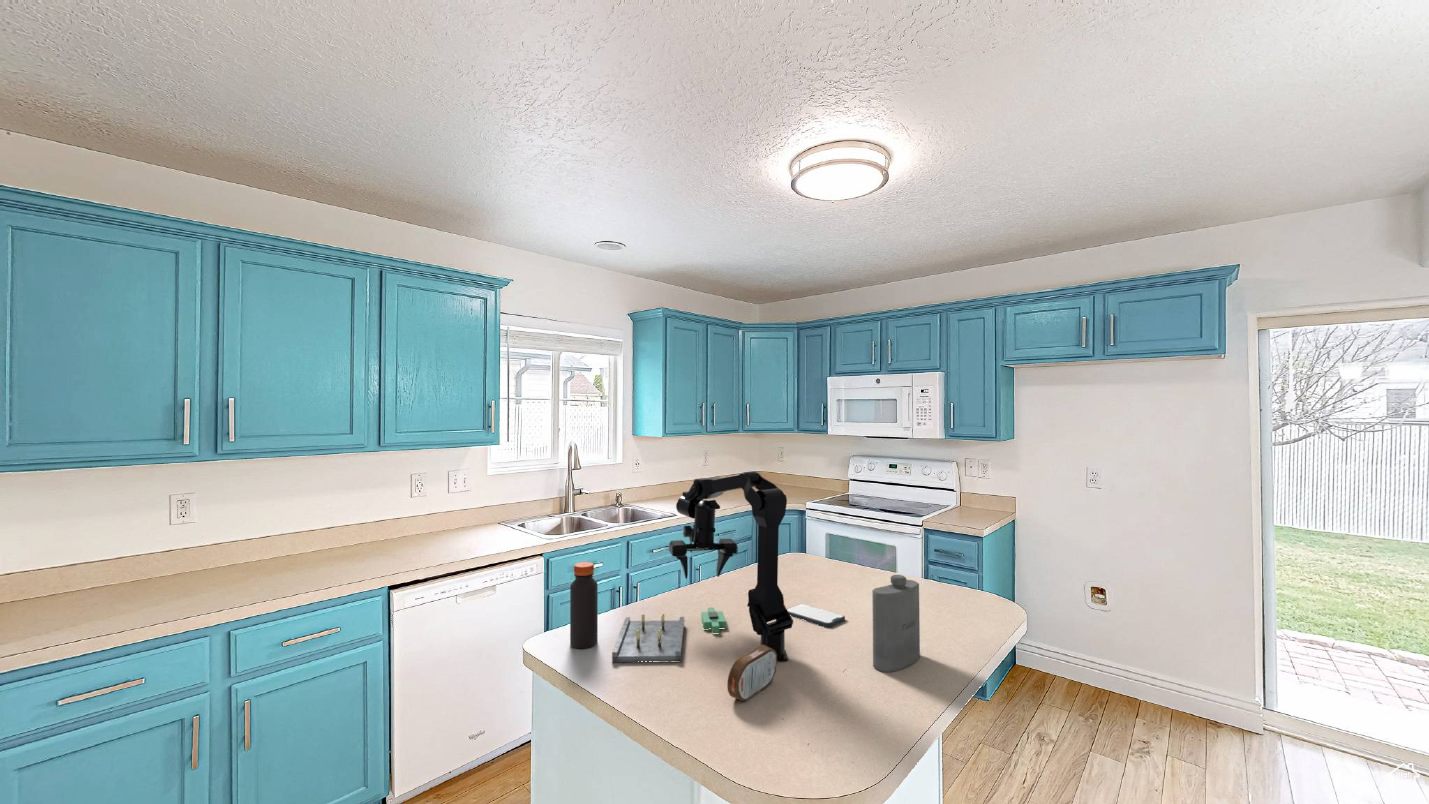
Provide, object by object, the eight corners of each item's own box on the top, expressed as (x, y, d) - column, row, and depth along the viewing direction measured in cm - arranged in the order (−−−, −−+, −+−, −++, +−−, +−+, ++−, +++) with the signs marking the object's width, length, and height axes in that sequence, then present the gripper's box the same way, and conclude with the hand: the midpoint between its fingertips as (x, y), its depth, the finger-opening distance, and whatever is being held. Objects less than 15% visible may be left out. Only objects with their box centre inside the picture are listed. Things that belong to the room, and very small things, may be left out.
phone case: (782, 615, 161) (828, 630, 149) (782, 610, 161) (828, 624, 149) (801, 608, 167) (847, 621, 155) (801, 602, 167) (846, 615, 155)
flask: (890, 676, 122) (889, 585, 123) (868, 666, 127) (867, 579, 127) (927, 657, 132) (926, 573, 132) (905, 649, 136) (904, 567, 136)
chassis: (680, 662, 129) (680, 639, 129) (612, 663, 129) (612, 639, 129) (684, 625, 151) (684, 606, 151) (625, 626, 151) (625, 606, 151)
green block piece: (727, 635, 146) (727, 623, 146) (704, 636, 145) (704, 624, 145) (721, 615, 160) (721, 605, 160) (700, 616, 159) (700, 605, 159)
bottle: (590, 650, 136) (590, 568, 136) (565, 648, 137) (565, 567, 138) (601, 639, 142) (601, 561, 143) (577, 637, 144) (577, 560, 144)
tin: (767, 676, 122) (767, 638, 122) (779, 680, 120) (779, 642, 120) (725, 704, 111) (725, 662, 111) (738, 709, 109) (738, 666, 109)
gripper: (727, 514, 165) (725, 565, 165) (666, 515, 160) (663, 568, 160) (739, 524, 154) (736, 579, 155) (674, 526, 149) (671, 583, 150)
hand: (701, 577), depth 155 cm, fingers open, 9 cm apart
